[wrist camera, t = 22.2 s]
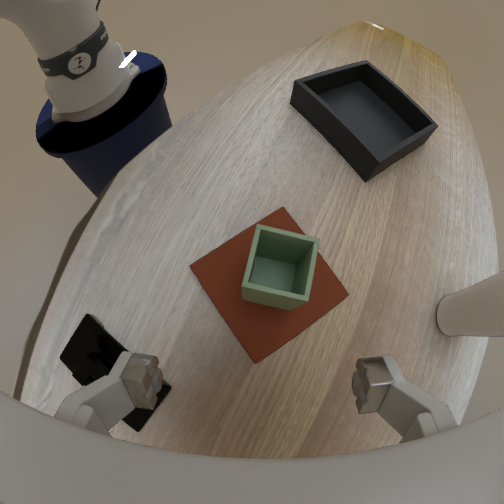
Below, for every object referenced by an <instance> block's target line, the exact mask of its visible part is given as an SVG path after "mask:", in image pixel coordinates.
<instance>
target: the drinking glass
mask: <svg viewBox="0 0 504 504" xmlns="http://www.w3.org/2000/svg"><path fill="white" fill-rule="evenodd" d="M437 323H438V326H439V328H440V330H441V331H442V332H443V333H444V334H445V335H447V336H477V337H504V270H503V271H501V272H499V273H497V274H495V275H493V276H491V277H489V278H487V279H485V280H483V281H481V282H478V283H476V284H474V285H472V286H470V287H467V288H465V289H463V290H461V291H458V292H455V293H452V294H449V295H447V296H445V297H444V298H443V299H442V300H441V302H440V304H439V306H438V309H437Z"/></svg>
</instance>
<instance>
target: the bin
mask: <svg viewBox="0 0 504 504" xmlns="http://www.w3.org/2000/svg"><path fill="white" fill-rule="evenodd" d="M290 104H291V105H292V106H293V107H294V108H295V109H296V110H297V111H298V112H300V113H301V114H302V115H303V116H304V117H305V118H306V119H307V120H308V121H309V122H310V123H311V124H312V125H313V126H314V127H315V128H316V129H317V130H318V131H319V132H320V133H321V134H322V135H323V136H324V137H325V138H326V139H327V140H328V141H329V142H330V143H331V144H332V145H333V146H334V148H335V149H336V150H337V151H338V152H339V153H340V154H341V155H342V156H343V157H344V158H345V159H346V161H347V162H348V163H349V164H350V165H351V166H352V167H353V168H354V170H355V171H356V172H357V173H358V174H359V175H360V176H361V178H362V179H363V180H364V181H365V182H367V181H368V180H370V179H371V178H373V177H374V176H376V175H377V174H379V173H380V172H382V171H383V170H385V169H386V168H388V167H389V166H391V165H392V164H394V163H395V162H397V161H398V160H400V159H401V158H403V157H404V156H406V155H407V154H409V153H410V152H412V151H413V150H415V149H416V148H418V147H419V146H421V145H422V144H424V143H425V142H426V141H427V139H428V138H429V137H430V136H431V134H432V133H433V132H434V131H435V130H436V128H437V127H438V125H437V124H436V123H435V122H434V121H433V120H432V119H431V118H430V116H429V115H428V114H427V113H426V112H425V111H424V110H423V109H422V108H421V107H420V106H419V105H418V104H417V103H416V102H415V101H414V100H412V99H411V98H410V97H409V96H408V95H407V94H406V93H405V92H404V91H403V90H402V89H401V88H399V87H398V86H397V85H396V84H395V83H394V82H393V81H391V80H390V79H389V78H388V77H387V76H386V75H384V74H383V73H382V72H381V71H379V70H378V69H377V68H376V67H375V66H373V65H372V64H371V63H369V62H368V61H367V60H365V61H361V62H357V63H353V64H349V65H345V66H341V67H337V68H334V69H330V70H327V71H323V72H320V73H316V74H313V75H310V76H307V77H304V78H301V79H298V80H295V81H294V85H293V91H292V96H291V101H290Z"/></svg>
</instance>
